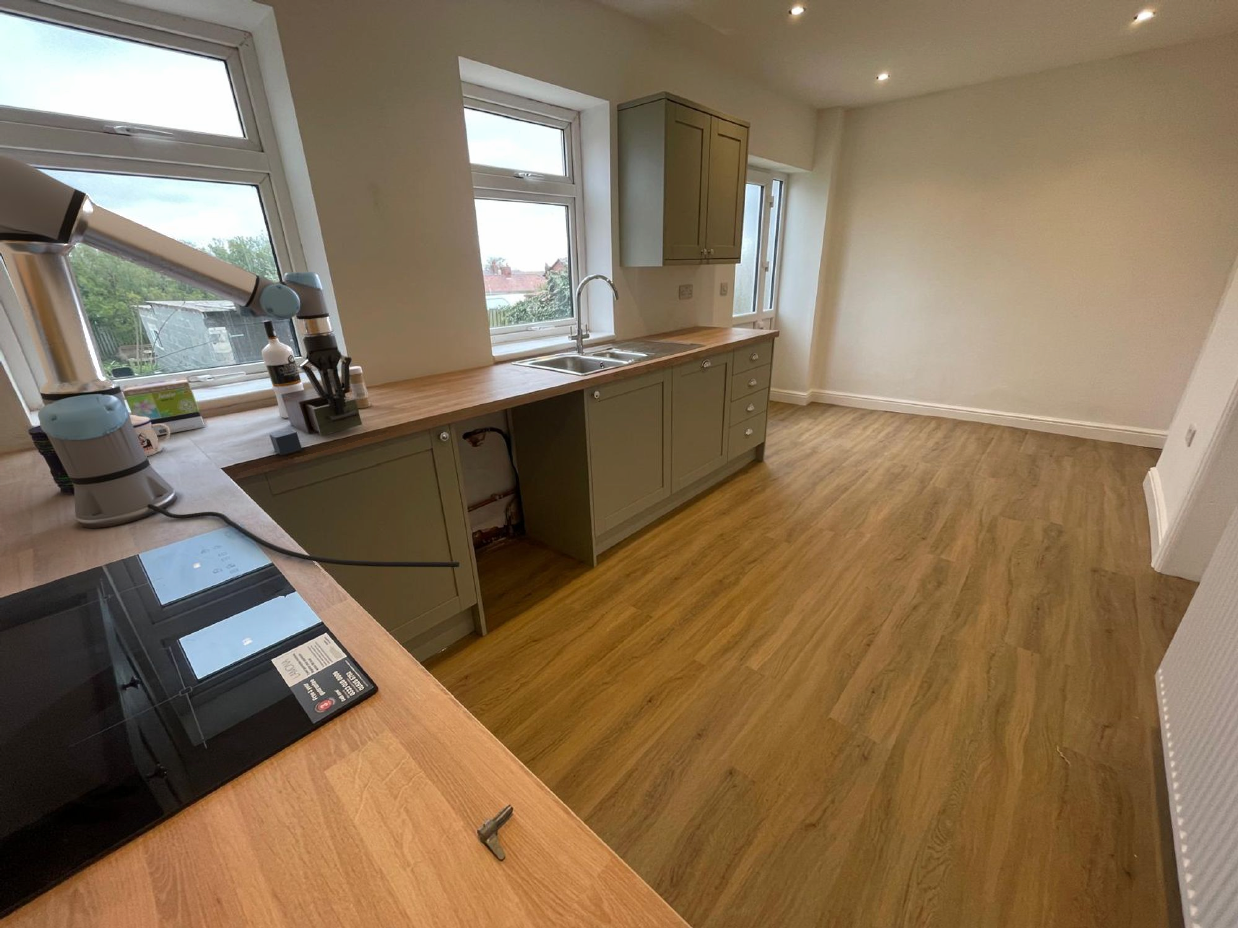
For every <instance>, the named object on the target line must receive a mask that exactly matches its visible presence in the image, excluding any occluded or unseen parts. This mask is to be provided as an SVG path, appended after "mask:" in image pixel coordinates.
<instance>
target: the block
mask: <svg viewBox="0 0 1238 928" xmlns="http://www.w3.org/2000/svg"><path fill="white" fill-rule="evenodd" d="M269 439H270V441H271V444H272V447H273V450H274V452H275V453H276V454H277V455H279V456H281V457H282V456H285V455H290V454H292V453H296V452H300V451H302V450H303V448H302V445H301V441H300V438H299V435H298V432H297V431H295V430H293V429H291V428H288V429H283V430H280V431H276V432H272V433H269Z"/></svg>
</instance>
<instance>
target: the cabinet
mask: <svg viewBox="0 0 1238 928" xmlns="http://www.w3.org/2000/svg"><path fill="white" fill-rule="evenodd" d="M321 387H322V388H323V390H324V387H323V385H321ZM332 391H333V395H334V396H337V395H336V393H335V390H334V388H332ZM324 392H325V391H324ZM281 396H282V399H283V402H284V405H285V408H286V411H287V414H288V417H289V418H288V420H289V423H290V425H291V426H293V427H295V428H296V429H299V430H300V431H302V432H304V433H307V434H308V435H309V434H312V433H317V432H318V431H317V430H314V429H312V428H310V426H309V423H308V420H307V417H306V413H305V410H304V407H303V404H304V403H309V402H313V401H318V400H322V399H326V398H322V397H320V396H319V395H318V394H317V392H316V390H315V389H314V387H311V388H304V390H301V391H296V392H291V393H286V394H281ZM344 398H347V396H346V395H345V396H344Z"/></svg>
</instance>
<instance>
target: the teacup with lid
mask: <svg viewBox="0 0 1238 928" xmlns="http://www.w3.org/2000/svg"><path fill="white" fill-rule="evenodd" d="M130 418H131V423H132V425H133V427H134V430H135V432H136V434H137V436H138V439H139V441H140V443H141V445H142V447H143V450H144V452H145V454H146V456H147V457H150V456H153V455H155V454H159V453H160V452H161V451H162V450H163V447H162V444H161V443H162V442H166V441H167V440H168V439H169V438H170V435H171V433H170V429H169V428H168V426H166V425H164V424H153V425H152V424H151V419H150V418H148V417H140V416H136V415H132V414H130ZM153 427H163V428H165V429H166V431H167V434H165V436H164V437H162V438H158V435H156V433H155V431H154V429H153Z"/></svg>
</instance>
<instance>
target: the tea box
mask: <svg viewBox="0 0 1238 928" xmlns="http://www.w3.org/2000/svg"><path fill="white" fill-rule="evenodd" d="M122 394H123V397H124V399H125V401H126V403H127V405H128V408H129V410H130V414H131V415H136V416H140V417H148V418H150V419H151V424H152V425H153V424H164V425H166V426H168V428H169V429H170V434H173V433H174V434H175V433H177V432H185V431H189V430H196V429H203V428H205V423H204V420H203V417H202V414H201V411H200V408H199V405H198V402H197V401H196V398H195V395H194V392H193V390H192V388H191V385H190V383H189V380H188V378H187V377H186V376H185V377H177V378H171V379H163V380H162V379H161V380H154V381H148V382H141V383H135V384H134V383H133V384H127V385H126V384H125V385H123V390H122ZM153 429H154V431H155V433H156V435H157V436H163V435H167V431H166V429H165V428H163V427H153Z"/></svg>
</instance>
